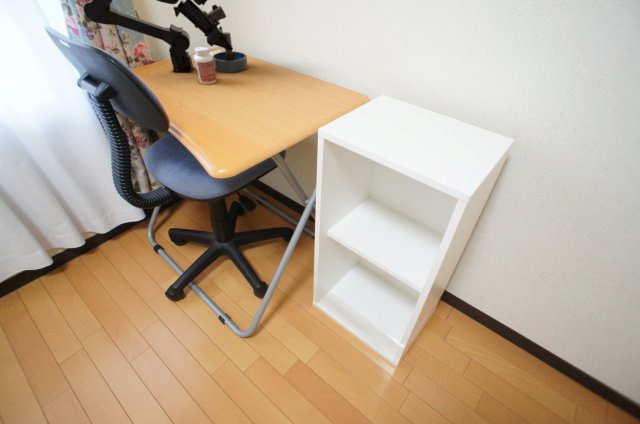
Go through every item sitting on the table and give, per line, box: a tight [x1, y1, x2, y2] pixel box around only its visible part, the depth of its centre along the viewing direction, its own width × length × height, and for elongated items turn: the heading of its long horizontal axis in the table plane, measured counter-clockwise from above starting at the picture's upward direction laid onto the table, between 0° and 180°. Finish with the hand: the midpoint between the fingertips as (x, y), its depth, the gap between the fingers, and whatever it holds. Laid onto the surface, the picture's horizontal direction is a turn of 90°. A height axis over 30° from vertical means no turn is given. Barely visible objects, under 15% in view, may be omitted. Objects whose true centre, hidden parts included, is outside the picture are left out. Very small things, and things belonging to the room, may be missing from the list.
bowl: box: [211, 50, 249, 74], centre depth 124 cm, size 13×13×4 cm
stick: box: [223, 31, 234, 61], centre depth 121 cm, size 3×3×12 cm
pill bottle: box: [194, 46, 217, 85], centre depth 110 cm, size 6×6×11 cm
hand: (232, 48), depth 121 cm, fingers closed on stick, 3 cm apart
